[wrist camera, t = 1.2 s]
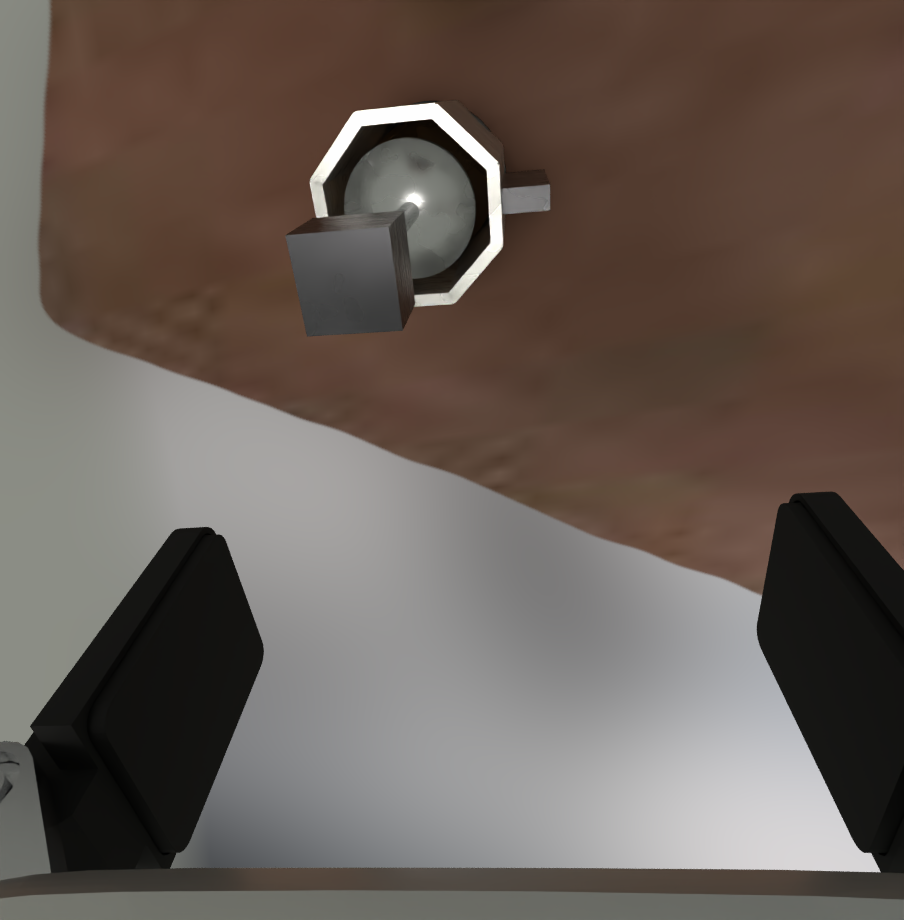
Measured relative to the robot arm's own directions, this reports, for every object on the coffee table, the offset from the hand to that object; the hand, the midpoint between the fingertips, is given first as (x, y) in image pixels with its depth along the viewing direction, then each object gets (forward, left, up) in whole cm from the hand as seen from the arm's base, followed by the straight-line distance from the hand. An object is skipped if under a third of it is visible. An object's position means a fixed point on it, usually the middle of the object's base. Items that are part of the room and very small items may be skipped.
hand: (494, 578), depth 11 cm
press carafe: (+4, -3, -36) cm, 36 cm away
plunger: (+5, -3, -25) cm, 26 cm away
